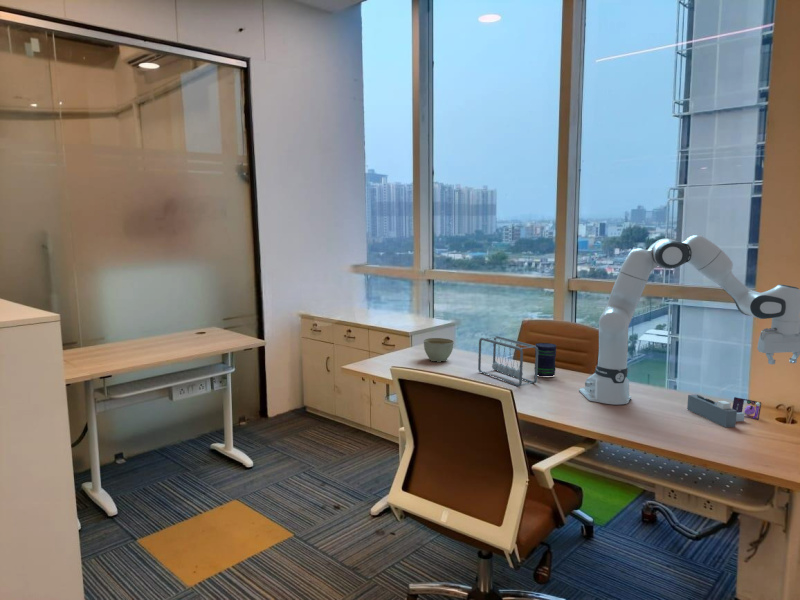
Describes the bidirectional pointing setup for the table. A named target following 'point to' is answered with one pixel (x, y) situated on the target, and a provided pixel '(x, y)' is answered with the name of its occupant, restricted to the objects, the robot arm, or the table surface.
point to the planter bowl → (438, 348)
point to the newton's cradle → (506, 368)
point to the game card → (749, 409)
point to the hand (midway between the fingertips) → (782, 363)
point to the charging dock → (714, 410)
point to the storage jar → (546, 359)
